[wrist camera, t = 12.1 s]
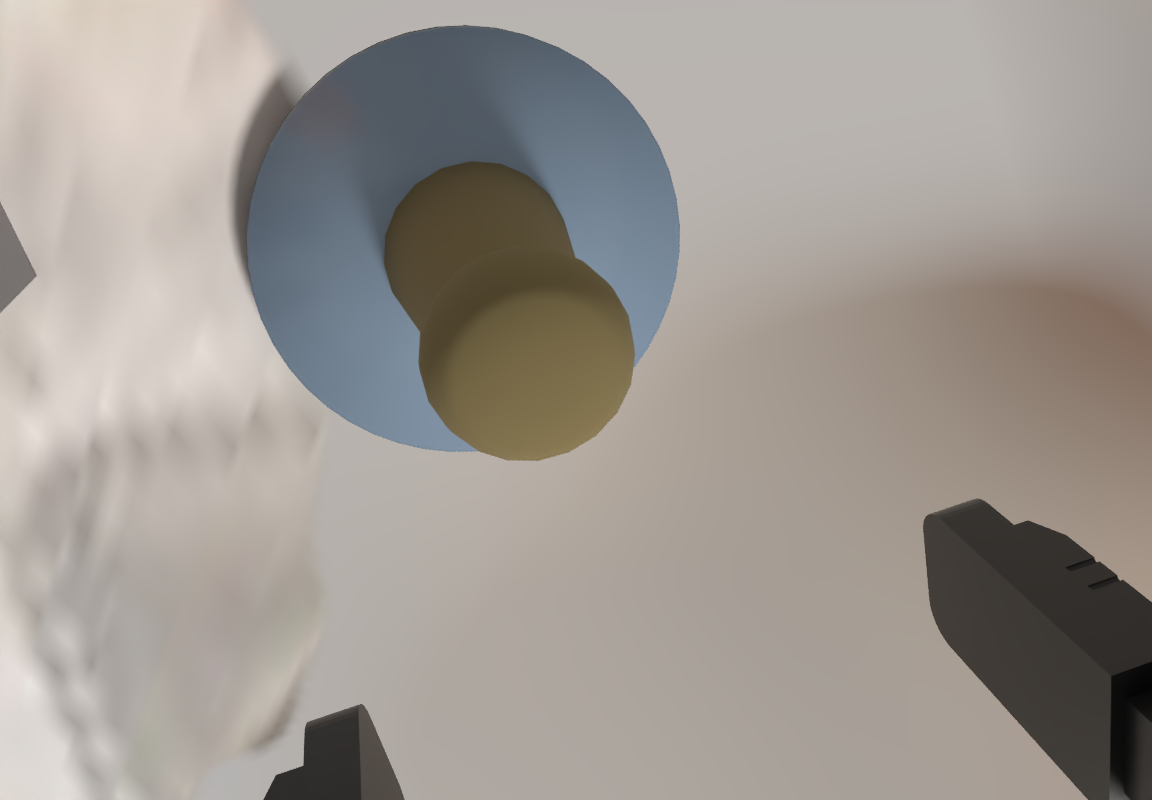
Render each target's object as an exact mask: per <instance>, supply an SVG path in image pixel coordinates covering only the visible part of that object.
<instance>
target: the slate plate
mask: <svg viewBox="0 0 1152 800" xmlns="http://www.w3.org/2000/svg"><path fill="white" fill-rule="evenodd" d="M469 161H475V162H487V163H499V164H503V165H505V166H507V167H510V168H512V169H514V170H517V171H519V172H522V173H524V174H526V175H528V176H529V177H530V178H532V179H533V180H534V181H535V182H536V183H537V184H538V185H539V186H541V187H542V188H543V189H544V190H545V191H546V192H547V193H548V194H550V196H551V198H552V200H553V201H554V203H555V205H556V207H557V208H558V210H559V212H560V214H561V215H562V217H563V219H564V222H565V225H566V228H567V231H568V235H569V238H570V241H571V244H572V247H573V251H574V254H575V257H576V258H577V259H580V260H582V261H584V262H585V263H586V264H587V265H588V266H589V267H591V268H592V269H593V270H594V271H595V272H596V273H598V274H599V275H600V276H601V277H602V278H603V279H605V280H606V281H607V282H608V283H609V284H610V285H611V286H612V288H613V289H614V291H615V292H616V294H617V296H618V298H619V299H620V301H621V303H622V305H623V306H624V308H625V310H626V312H627V313H628V315H629V320H630V325H631V331H632V336H633V342H634V348H635V359H634V366H633V368H634V367H635V366H636V364H637V363H638V361H639V360H640V359H641V357H642V356H643V354H644V353H645V352H646V350H647V349H648V347H649V345H650V343H651V341H652V340H653V337H654V336H655V334H656V332H657V331H658V329H659V327H660V324H661V322H662V319H663V317H664V314H665V312H666V309H667V307H668V304H669V302H670V298H671V294H672V290H673V287H674V283H675V279H676V273H677V265H678V258H679V239H680V238H679V237H680V235H679V234H680V233H679V231H680V224H679V216H678V208H677V199H676V195H675V191H674V187H673V183H672V179H671V176H670V172H669V169H668V167H667V164H666V162H665V159H664V157H663V154H662V152H661V149H660V147H659V145H658V143H657V141H656V140H655V138H654V136H653V135H652V133H651V131H650V129H649V127H648V126H647V124H646V122H645V121H644V120H643V118H642V117H641V116H640V115H639V113H638V112H637V110H636V109H635V108H634V106H633V105H632V104H631V103H630V101H629V100H628V99H627V98H626V97H625V96H624V95H623V94H622V93H621V92H620V91H619V90H618V89H617V88H616V87H615V86H614V85H613V84H612V83H611V82H610V81H609V80H608V79H607V78H605V77H604V76H603V75H601V74H600V73H599V72H597V71H596V70H595V69H593V68H592V67H591V66H589V65H588V64H587V63H585V62H584V61H582V60H580V59H578V58H577V57H575V56H573V55H571V54H569V53H568V52H566V51H564V50H562V49H560V48H559V47H556V46H553V45H551V44H548V43H546V42H543V41H540V40H538V39H535V38H533V37H530V36H527V35H524V34H520V33H515V32H511V31H507V30H503V29H498V28H490V27H479V26H467V25H465V26H445V27H434V28H428V29H423V30H418V31H413V32H408V33H405V34H402V35H399V36H396V37H393V38H390V39H387V40H384V41H381V42H378V43H376V44H374V45H372V46H370V47H368V48H366V49H364V50H363V51H361V52H359V53H357V54H355V55H353V56H351V57H349V58H348V59H347V60H345V61H344V62H342V63H341V64H340V65H338V66H337V67H335V68H334V69H333V70H331V71H330V72H328V73H327V74H326V75H325V76H323V77H322V78H321V80H319V81H318V82H317V83H316V84H315V85H314V86H313V87H312V88H311V89H310V90H309V91H308V92H306V93H305V94H304V96H303V97H302V98H301V99H300V101H299V102H298V103H297V104H296V106H295V107H294V108H293V109H292V111H291V112H290V113H289V114H288V116H287V117H286V118H285V120H284V122H283V123H282V125H281V127H280V128H279V130H278V132H277V134H276V135H275V137H274V139H273V140H272V142H271V144H270V146H269V149H268V151H267V154H266V156H265V158H264V161H263V163H262V166H261V168H260V171H259V173H258V176H257V180H256V184H255V187H254V191H253V195H252V199H251V203H250V209H249V219H248V228H247V258H248V268H249V274H250V280H251V286H252V291H253V295H254V298H255V301H256V304H257V307H258V311H259V314H260V317H261V320H262V322H263V324H264V326H265V328H266V330H267V332H268V334H269V336H270V338H271V341H272V343H273V345H274V346H275V348H276V349H277V351H278V352H279V354H280V355H281V357H282V358H283V360H284V361H285V363H286V364H287V366H288V367H289V369H290V370H291V371H292V372H293V373H294V374H295V376H296V377H297V378H298V379H299V380H300V381H301V383H302V384H303V385H304V386H305V387H306V388H307V389H308V390H309V391H310V392H311V393H312V394H313V395H315V396H316V397H317V398H318V399H319V400H320V401H321V402H322V403H324V404H325V405H326V406H327V407H328V408H330V409H331V410H333V411H334V412H336V413H337V414H339V415H340V416H342V417H343V418H345V419H346V420H347V421H349V422H351V423H353V424H355V425H357V426H359V427H361V428H363V429H365V430H366V431H368V432H370V433H372V434H375V435H377V436H380V437H383V438H386V439H388V440H391V441H394V442H397V443H401V444H405V445H409V446H413V447H418V448H422V449H430V450H439V451H448V452H456V451H457V452H462V451H463V452H468V451H477V450H476V449H475V448H473V447H472V446H470V445H469V444H467V443H466V442H465V441H463V440H462V439H460V438H459V437H458V436H456V435H455V434H453V433H452V432H451V431H450V430H449V429H448V428H447V427H446V426H445V424H444V423H443V421H442V420H441V419H440V417H439V416H438V414H437V413H436V412H435V410H434V409H433V407H432V406H431V405H430V403H429V402H428V398H427V395H426V391H425V388H424V384H423V381H422V377H421V374H420V370H419V364H418V359H419V342H420V331H419V330H418V329H417V327H416V326H415V324H414V323H413V321H412V320H411V319H410V317H409V316H408V314H407V313H406V311H405V310H404V309H403V307H402V306H401V304H400V303H399V301H398V300H397V298H396V297H395V296H394V294H393V293H392V290H391V287H390V283H389V280H388V277H387V273H386V270H385V266H384V253H385V235H386V232H387V230H388V227H389V224H390V222H391V219H392V217H393V214H394V212H395V209H396V207H397V206H398V205H399V203H400V202H401V201H402V200H403V199H404V197H405V196H406V195H407V194H408V193H409V191H410V190H411V189H412V188H413V187H414V185H415V184H417V183H418V182H420V181H422V180H423V179H425V178H426V177H428V176H430V175H431V174H433V173H434V172H436V171H438V170H439V169H441V168H445V167H449V166H453V165H457V164H461V163H465V162H469Z"/></svg>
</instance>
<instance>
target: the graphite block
mask: <svg viewBox="0 0 1152 800" xmlns="http://www.w3.org/2000/svg"><path fill="white" fill-rule="evenodd" d="M36 276H37V275H36V273H35V271H34V269H33V267H32V265H31V263H30V261H29V259H28V257H27V255H26V253H25V251H24V249H23V247H22V245H21V243H20V241H19V239H18V237H17V235H16V233H15V231H14V229H13V227H12V225H11V223H10V221H9V219H8V217H7V215H6V213H5V211H4V209H3V207H2V205H1V203H0V313H1V312H2V311H3V310H4V309H5V308H6V307H7V306H8V304H9V303H10V302H11V301H12V300H13V299H14V298H15V297H16V296H17V295H18V294H19V293H20V292H21V291H22V290H23V289H24V288H25V287H26V286H27V285H28V284H29V283H30V282H31V281H32V280H33V279H34V278H35V277H36Z"/></svg>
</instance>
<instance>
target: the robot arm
mask: <svg viewBox="0 0 1152 800" xmlns="http://www.w3.org/2000/svg"><path fill="white" fill-rule="evenodd" d="M923 532H924V543H925V554H926V566H927V577H928V588H929V599H930V606H931V610H932V613H933V616H934V619H935V621H936V624H937V626H938V628H939V630H940V632H941V634H942V636H943V637H944V639H945V640H946V642H947V643H948V644H949V646H950V647H951V648H952V649H953V650H954V651H955V652H956V653H957V655H958V656H959V657H960V658H961V659H962V660H963V661H964V662H965V664H966V665H967V666H968V667H969V668H970V669H971V670H972V671H973V672H974V674H975V675H976V676H977V677H978V678H979V679H980V680H981V681H982V682H983V684H984V685H985V686H986V687H987V688H988V689H989V690H990V691H991V692H992V693H993V695H994V696H995V697H996V698H997V699H998V700H999V701H1000V702H1001V703H1002V705H1003V706H1004V707H1005V708H1006V709H1007V710H1008V711H1009V712H1010V714H1011V715H1012V716H1013V717H1014V718H1015V719H1016V720H1017V721H1018V722H1019V724H1020V725H1021V726H1022V727H1023V728H1024V729H1025V730H1026V731H1027V732H1028V734H1029V735H1030V736H1031V737H1032V738H1033V739H1034V740H1035V741H1036V742H1037V743H1038V745H1039V746H1040V747H1041V748H1042V749H1043V750H1044V751H1045V752H1046V754H1047V755H1048V756H1049V757H1050V758H1051V759H1052V760H1053V761H1054V762H1055V764H1056V765H1057V766H1058V767H1059V768H1060V769H1061V770H1062V771H1063V772H1064V773H1065V774H1066V776H1067V777H1068V778H1069V779H1070V780H1071V781H1072V782H1073V783H1074V785H1075V786H1076V787H1077V788H1078V789H1079V790H1080V791H1081V792H1082V793H1083V795H1084V796H1085V797H1086V798H1087V799H1088V800H1152V602H1151V601H1149V600H1148V599H1147V598H1145V597H1144V596H1143V595H1142V594H1140V593H1139V592H1138V591H1137V590H1135V589H1134V588H1133V587H1131V586H1130V585H1129V584H1128V583H1126V582H1125V581H1124V580H1122V581H1120V580H1119V579H1118V577H1117V575H1116V574H1115V573H1114V572H1112V571H1111V570H1110V569H1108V568H1107V567H1106V566H1105V565H1103V564H1102V563H1101V562H1096V561H1095V559H1094V557H1093V556H1092V555H1090V554H1089V553H1088V552H1087V551H1086V550H1084V549H1083V548H1082V547H1080V546H1079V545H1078V544H1076V543H1075V542H1074V541H1073V540H1072V539H1070V538H1069V537H1068V536H1066V535H1064V534H1061V533H1059V532H1056V531H1054V530H1051V529H1049V528H1046V527H1043V526H1041V525H1038V524H1036V523H1033V522H1030V521H1025V522H1022V523H1019V524H1016V525H1013V524H1012V523H1011V522H1010V521H1008V520H1007V519H1006V518H1005V517H1004V516H1002V515H1001V514H1000V513H999V512H997V511H996V510H995V509H994V508H992V506H990V505H989V504H988V503H986V502H985V501H983V500H981V499H974V500H971V501H967V502H965V503H962V504H959V505H956V506H953V507H950V508H947V509H944V510H941V511H938V512H935V513H932V514H929V515H927V516H926V518H925V519H924V525H923ZM264 800H404V797H403V794H402V791H401V788H400V785H399V783H398V780H397V778H396V776H395V773H394V771H393V769H392V767H391V764H390V762H389V759H388V757H387V755H386V752H385V750H384V748H383V746H382V743H381V741H380V739H379V736H378V734H377V732H376V729H375V727H374V725H373V722H372V720H371V718H370V716H369V713H368V711H367V710H366V708H365V707H364V705H362V704H360V705H357V706H354V707H351V708H348V709H345V710H342V711H339V712H336V713H333V714H330V715H327V716H324V717H321V718H318V719H315V720H312V721H310V722H307V724H306V727H305V739H304V766H302V767H299V768H296V769H293V770H290V771H287V772H284V773H281V774H278V775H276V776H275V778H274V780H273V782H272V784H271V786H270V788H269V790H268V792H267V794H266V796H265V798H264Z"/></svg>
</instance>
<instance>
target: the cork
mask: <svg viewBox="0 0 1152 800" xmlns="http://www.w3.org/2000/svg"><path fill="white" fill-rule="evenodd" d="M384 266H385V270H386V273H387V277H388V280H389V283H390V287H391V290H392V293H393V294H394V296H395V297H396V298H397V300H398V301H399V303H400V304H401V306H402V307H403V309H404V310H405V311H406V313H407V314H408V316H409V317H410V319H411V320H412V321H413V323H414V324H415V326H416V327H417V329H418V330H419V331H420V342H419V359H418V364H419V370H420V374H421V377H422V381H423V384H424V388H425V391H426V395H427V398H428V402H429V403H430V405H431V406H432V407H433V409H434V410H435V412H436V413H437V414H438V416H439V417H440V419H441V420H442V421H443V423H444V424H445V426H446V427H447V428H448V429H449V430H450V431H451V432H452V433H453V434H455V435H456V436H458V437H459V438H460V439H462V440H463V441H465V442H466V443H467V444H469V445H470V446H472V447H473V448H475V449H476V450H477V451H480V452H483V453H486V454H489V455H492V456H496V457H499V458H502V459H505V460H530V461H533V460H534V461H535V460H536V461H539V460H542V459H546V458H550V457H553V456H556V455H560V454H564V453H568V452H570V451H571V450H573V449H575V448H577V447H578V446H580V445H582V444H583V443H585V442H586V441H588V440H589V439H591V438H593V437H595V436H596V435H597V434H598V433H599V432H600V431H601V430H602V429H603V428H604V426H605V425H606V424H607V423H608V422H609V421H610V420H611V419H612V418H613V416H614V415H615V414H616V413H617V412H618V410H619V408H620V406H621V404H622V402H623V399H624V398H625V395H626V394H627V391H628V389H629V387H630V385H631V379H632V373H633V366H634V359H635V348H634V342H633V336H632V331H631V325H630V320H629V315H628V313H627V312H626V310H625V308H624V306H623V305H622V303H621V301H620V299H619V298H618V296H617V294H616V292H615V291H614V289H613V288H612V286H611V285H610V284H609V283H608V282H607V281H606V280H605V279H603V278H602V277H601V276H600V275H599V274H598V273H596V272H595V271H594V270H593V269H592V268H591V267H589V266H588V265H587V264H586V263H585V262H584V261H582V260H580V259H577V258H576V257H575V254H574V251H573V247H572V244H571V241H570V238H569V235H568V231H567V228H566V225H565V222H564V219H563V217H562V215H561V214H560V212H559V210H558V208H557V207H556V205H555V203H554V201H553V200H552V198H551V196H550V194H548V193H547V192H546V191H545V190H544V189H543V188H542V187H541V186H539V185H538V184H537V183H536V182H535V181H534V180H533V179H532V178H530V177H529V176H528V175H526V174H524V173H522V172H519V171H517V170H514V169H512V168H510V167H507V166H505V165H503V164H499V163H487V162H475V161H469V162H465V163H461V164H457V165H453V166H449V167H445V168H441V169H439V170H438V171H436V172H434V173H433V174H431V175H430V176H428V177H426V178H425V179H423V180H422V181H420V182H418V183H417V184H415V185H414V187H413V188H412V189H411V190H410V191H409V193H408V194H407V195H406V196H405V197H404V199H403V200H402V201H401V202H400V203H399V205H398V206H397V207H396V209H395V212H394V214H393V217H392V219H391V222H390V224H389V227H388V230H387V232H386V235H385V253H384Z"/></svg>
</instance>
